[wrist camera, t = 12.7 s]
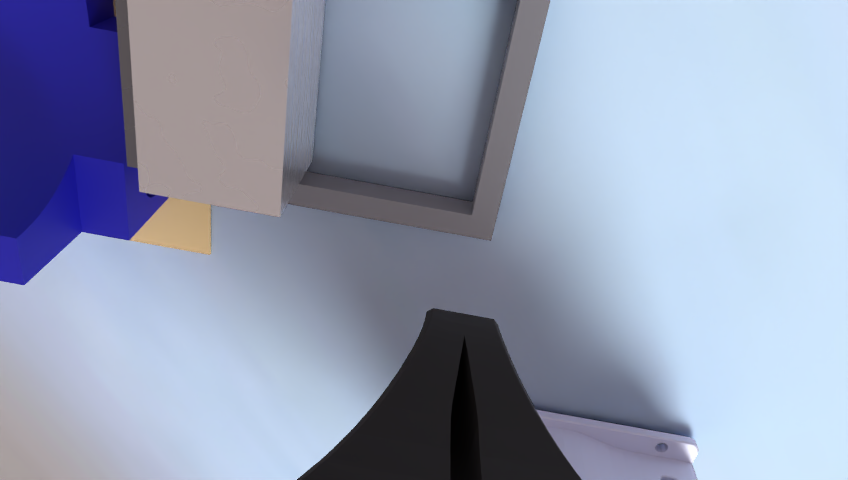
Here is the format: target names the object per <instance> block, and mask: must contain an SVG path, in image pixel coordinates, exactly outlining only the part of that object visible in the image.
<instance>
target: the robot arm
mask: <svg viewBox="0 0 848 480" xmlns="http://www.w3.org/2000/svg"><path fill="white" fill-rule="evenodd" d="M659 443H664V444H661V445H657V444H659ZM697 454H698V447H697V444H696V441H695V440H694V439H693V438H690V437H686V436H680V435H675V434H669V433H664V432H658V431H652V430H647V429H641V428H636V427H630V426H624V425H619V424H613V423H608V422H602V421H596V420H591V419H585V418H580V417H574V416H568V415H563V414H557V413H552V412H546V411H541V410H536V409H535V407H534V405H533V403H532V402H531V400H530V398H529V396H528V394H527V392H526V390H525V388H524V386H523V384H522V382H521V380H520V378H519V376H518V374H517V372H516V370H515V367H514V365H513V363H512V361H511V358H510V356H509V354H508V351H507V349H506V346H505V344H504V341H503V339H502V336H501V333H500V330H499V327H498V325H497V323H496V322H495V320H494V319H490V318H484V317H479V316H473V315H467V314H462V313H456V312H451V311H445V310H440V309H434V308H433V309H431V310H429V311H427V313H426V318H425V322H424V325H423V327H422V330H421V332H420V335H419V337H418V339H417V341H416V343H415V345H414V347H413V348H412V350H411V352H410V353H409V355H408V357H407V358H406V360H405V362H404V363H403V365H402V367H401V368H400V370H399V371H398V373H397V374H396V376H395V377H394V379H393V380H392V381H391V383H390V384H389V385H388V387H387V388H386V390H385V391H384V392H383V394H382V395H381V396H380V398H379V399H378V400H377V402H376V403H375V404H374V405H373V406H372V408H371V409H370V410H369V411H368V412H367V414H366V415H365V416H364V417H363V418H362V419H361V420H360V422H359V423H358V424H357V425H356V426H355V427H354V428H353V429H352V430H351V431H350V432H349V433H348V434H347V435H346V436H345V437H344V438H343V439H342V440H341V441H340V442H339V443H338V444H337V445H336V446H335V447H334V448H333V449H332V450H331V451H330V452H329V453H328V454H327V455H326V456H325V457H324V458H322V459H321V460H320V461H319V462H318V463H317V464H315V465H314V466H313V467H312V468H310V469H309V470H308V471H307V472H306V473H304V474H303V475H302V476H301V477H300V478H298V479H297V480H697V477H696V474H695V471H694V468H693V465H692V463H693V461H694V460H695V458H696V456H697Z"/></svg>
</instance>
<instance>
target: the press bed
mask: <svg viewBox="0 0 848 480" xmlns="http://www.w3.org/2000/svg"><path fill="white" fill-rule="evenodd" d="M549 4H550V0H517V5H516V9H515V14H514V18H513V23H512V27H511V32H510V36H509V41H508V45H507V50H506V54H505V58H504V63H503V67H502V72H501V76H500V81H499V85H498V90H497V94H496V99H495V103H494V108H493V112H492V117H491V121H490V126H489V130H488V135H487V139H486V144H485V148H484V153H483V157H482V162H481V166H480V171H479V175H478V180H477V184H476V189H475V193H474V198H473V202H471V201H466V200H460V199H455V198H449V197H444V196H438V195H433V194H427V193H422V192H416V191H411V190H405V189H400V188H394V187H389V186H383V185H378V184H372V183H367V182H361V181H356V180H350V179H345V178H339V177H334V176H328V175H323V174H317V173H312V172H306V173H305V175H304V176H303V178H302V180H301V182H300V183H299V185H298V187H297V189H296V190H295V192H294V194H293V196H292V197H291V199H290V201H289V203H288V204H292V205H297V206H303V207H308V208H314V209H319V210H325V211H330V212H336V213H341V214H347V215H352V216H358V217H363V218H369V219H374V220H380V221H385V222H391V223H396V224H402V225H407V226H413V227H418V228H424V229H429V230H435V231H441V232H446V233H452V234H457V235H463V236H468V237H474V238H479V239H485V240H490V241H491V239H492V235H493V231H494V226H495V222H496V218H497V214H498V210H499V206H500V202H501V198H502V194H503V190H504V186H505V182H506V178H507V174H508V170H509V166H510V162H511V158H512V154H513V150H514V145H515V141H516V137H517V133H518V129H519V125H520V121H521V117H522V113H523V109H524V105H525V101H526V97H527V93H528V89H529V85H530V81H531V77H532V73H533V69H534V64H535V60H536V56H537V52H538V48H539V44H540V40H541V36H542V32H543V28H544V24H545V20H546V16H547V12H548V8H549ZM113 6H114V16H115V17H116V6H115V0H113ZM130 240H131V241H136V242H142V243H147V244H153V245H158V246H164V247H169V248H175V249H181V250H186V251H192V252H197V253H203V254H208V255H210V254H211V205H209V204H204V203H198V202H193V201H187V200H182V199H176V198H171V197H169V198H168V199H167V200H166V201H165V203H164V204H163V205H162V206H161V207H160V208H159V209H158V210H157V211H156V212H155V213H154V214H153V215H152V217H151V218H150V219H149V220H148V221H147V222H146V223H145V224H144V225H143V226H142V227H141V228H140V230H139V231H138V232H137V233H136V234H135V235H134V236H133V237H132V238H131V239H130Z"/></svg>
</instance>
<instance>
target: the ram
mask: <svg viewBox="0 0 848 480" xmlns="http://www.w3.org/2000/svg"><path fill="white" fill-rule="evenodd" d="M115 6H116V20H117V34H118V47H119V61H120V75H121V89H122V102H123V116H124V130H125V143H126V157H127V166H128V167H133V168H138V179H139V192H143V193H149V194H154V195H160V196H165V197H171V198H176V199H182V200H187V201H193V202H198V203H204V204H209V205H215V206H220V207H226V208H231V209H237V210H243V211H248V212H254V213H259V214H265V215H270V216H276V217H281V215H282V213H283V211H284V210H285V208H286V206H287V204H288V203H289V201H290V199H291V197H292V196H293V194H294V192H295V190H296V189H297V187H298V185H299V183H300V182H301V180H302V178H303V176H304V175H305V173H306V171H307V169H308V168H309V166H310V164H311V162H312V159H313V146H314V134H315V122H316V110H317V97H318V85H319V73H320V61H321V48H322V36H323V24H324V12H325V0H115Z"/></svg>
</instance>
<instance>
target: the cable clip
mask: <svg viewBox="0 0 848 480" xmlns="http://www.w3.org/2000/svg"><path fill="white" fill-rule="evenodd" d="M168 198H169V197H165V196H160V195H154V194H149V193H143V192H139V179H138V168H133V167H128V166H127V157H126V143H125V130H124V116H123V102H122V89H121V75H120V61H119V47H118V34H117V20H116V17H115V16H114V6H113V0H0V281H4V282H9V283H15V284H20V285H25V284H26V283H27V282H28V281H29V280H30V279H31V278H33V277H34V276H35V275H36V274H37V273H38V272H39V271H40V270H41V269H42V268H43V267H44V266H45V265H47V264H48V263H49V262H50V261H51V260H52V259H53V258H54V257H55V256H56V255H57V254H58V253H59V252H60V251H62V250H63V249H64V248H65V247H66V246H67V245H68V244H69V243H70V242H71V241H72V240H73V239H74V238H76V237H77V236H78V235H79V234H80V233H81V232H86V233H91V234H97V235H102V236H108V237H113V238H118V239H124V240H130V239H131V238H132V237H133V236H134V235H135V234H136V233H137V232H138V231H139V230H140V228H141V227H142V226H143V225H144V224H145V223H146V222H147V221H148V220H149V219H150V218H151V217H152V215H153V214H154V213H155V212H156V211H157V210H158V209H159V208H160V207H161V206H162V205H163V204H164V203H165V201H166V200H167V199H168Z"/></svg>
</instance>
